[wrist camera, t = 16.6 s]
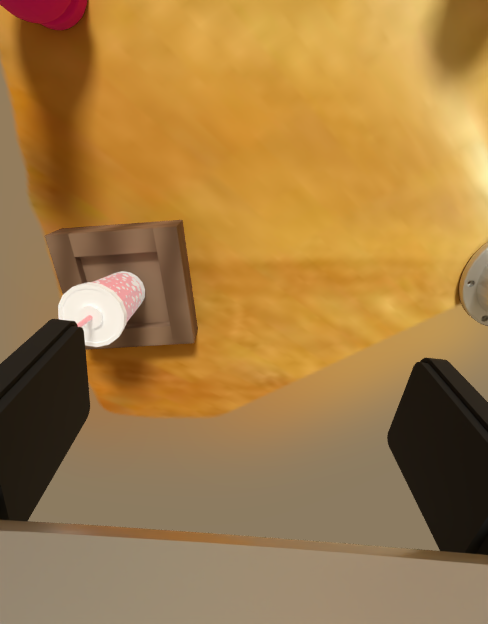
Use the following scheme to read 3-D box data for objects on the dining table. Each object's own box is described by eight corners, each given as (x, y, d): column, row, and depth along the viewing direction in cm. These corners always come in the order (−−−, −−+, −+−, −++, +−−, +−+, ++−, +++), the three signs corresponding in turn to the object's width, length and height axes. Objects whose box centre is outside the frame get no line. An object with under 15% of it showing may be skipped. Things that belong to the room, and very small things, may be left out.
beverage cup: (147, 263, 39) (93, 298, 26) (155, 314, 41) (108, 371, 28) (94, 265, 40) (14, 302, 26) (104, 316, 42) (33, 374, 28)
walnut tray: (183, 219, 40) (176, 226, 36) (198, 327, 46) (194, 343, 42) (63, 227, 41) (44, 235, 37) (93, 333, 47) (80, 349, 43)
